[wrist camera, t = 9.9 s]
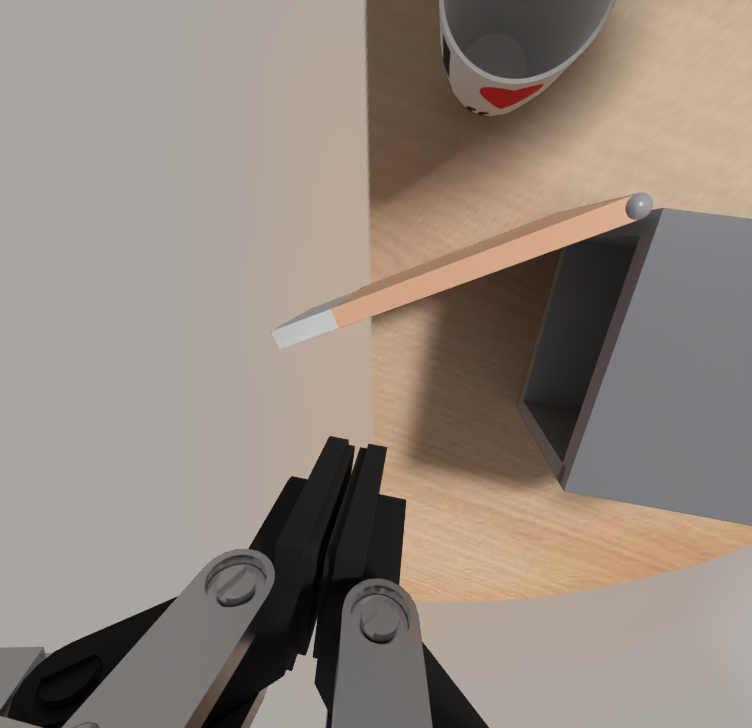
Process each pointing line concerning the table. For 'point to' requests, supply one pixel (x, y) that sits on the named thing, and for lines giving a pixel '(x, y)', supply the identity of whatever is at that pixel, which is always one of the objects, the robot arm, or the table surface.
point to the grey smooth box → (650, 366)
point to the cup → (513, 47)
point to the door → (465, 266)
